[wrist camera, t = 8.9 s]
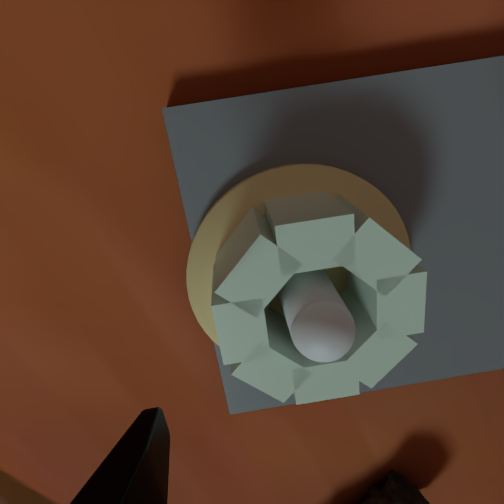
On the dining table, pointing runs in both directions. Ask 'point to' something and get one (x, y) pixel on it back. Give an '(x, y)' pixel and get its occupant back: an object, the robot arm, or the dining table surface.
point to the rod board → (361, 204)
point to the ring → (355, 296)
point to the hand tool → (395, 492)
